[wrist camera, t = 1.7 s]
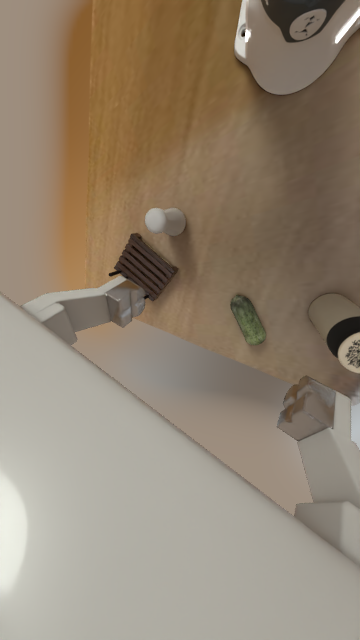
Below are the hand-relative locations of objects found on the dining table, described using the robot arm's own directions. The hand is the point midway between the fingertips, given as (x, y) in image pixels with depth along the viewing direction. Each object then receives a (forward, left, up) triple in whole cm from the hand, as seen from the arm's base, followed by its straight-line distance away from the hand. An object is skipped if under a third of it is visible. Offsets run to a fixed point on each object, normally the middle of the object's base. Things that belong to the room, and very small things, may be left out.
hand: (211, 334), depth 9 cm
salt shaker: (-6, -16, -42) cm, 45 cm away
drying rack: (+4, -25, -41) cm, 48 cm away
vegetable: (+16, +2, -42) cm, 45 cm away
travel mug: (+13, +19, -42) cm, 48 cm away
